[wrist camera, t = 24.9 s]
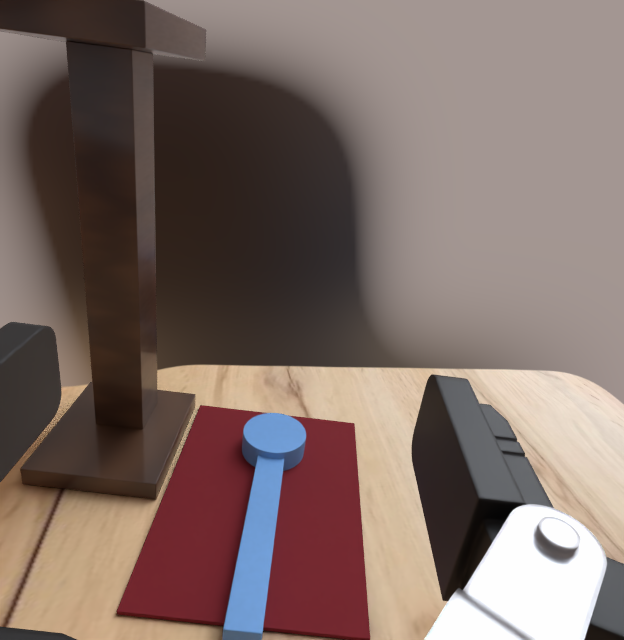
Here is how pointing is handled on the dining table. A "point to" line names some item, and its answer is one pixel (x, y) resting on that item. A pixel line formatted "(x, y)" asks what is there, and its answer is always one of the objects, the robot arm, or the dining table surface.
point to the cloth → (227, 526)
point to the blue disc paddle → (261, 519)
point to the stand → (113, 243)
